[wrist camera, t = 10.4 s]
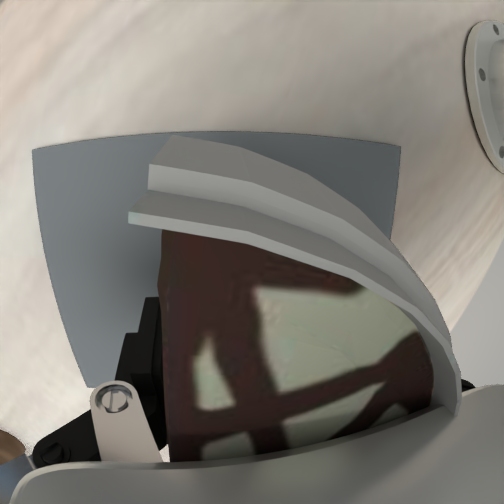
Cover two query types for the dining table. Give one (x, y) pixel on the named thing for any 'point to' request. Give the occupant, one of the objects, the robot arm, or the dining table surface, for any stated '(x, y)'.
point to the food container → (281, 309)
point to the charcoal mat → (149, 238)
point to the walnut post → (9, 447)
